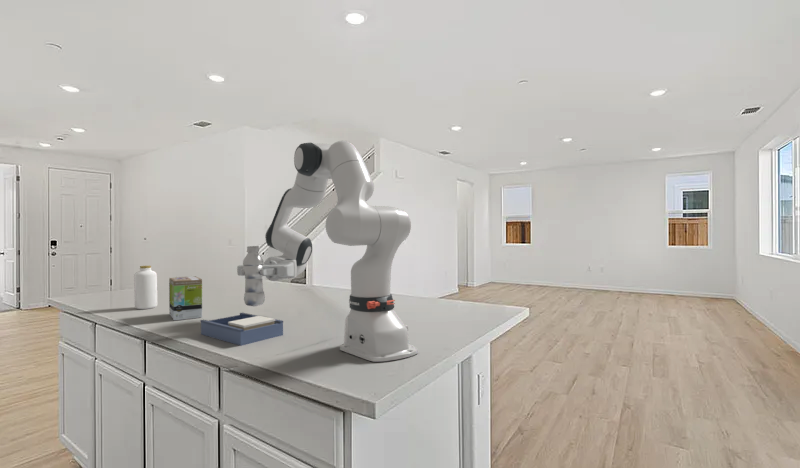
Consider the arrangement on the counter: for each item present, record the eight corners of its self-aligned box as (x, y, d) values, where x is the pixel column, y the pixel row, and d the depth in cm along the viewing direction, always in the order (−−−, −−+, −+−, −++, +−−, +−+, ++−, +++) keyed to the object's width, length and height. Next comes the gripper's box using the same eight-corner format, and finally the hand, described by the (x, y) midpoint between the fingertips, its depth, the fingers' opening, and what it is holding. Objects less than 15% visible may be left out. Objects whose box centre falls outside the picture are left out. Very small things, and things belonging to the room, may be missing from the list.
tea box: (203, 317, 157) (202, 278, 156) (173, 321, 151) (172, 280, 151) (197, 311, 169) (196, 275, 169) (168, 314, 163) (168, 277, 163)
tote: (283, 337, 126) (283, 320, 126) (240, 348, 115) (240, 330, 115) (242, 327, 139) (242, 312, 139) (200, 336, 128) (200, 320, 128)
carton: (275, 335, 125) (275, 319, 125) (244, 343, 117) (243, 325, 117) (259, 331, 130) (259, 315, 130) (228, 338, 122) (227, 321, 122)
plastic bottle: (264, 307, 137) (262, 246, 137) (242, 308, 135) (240, 247, 135) (266, 303, 143) (264, 245, 143) (245, 304, 142) (243, 246, 141)
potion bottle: (152, 305, 184) (151, 264, 184) (161, 307, 179) (160, 265, 179) (131, 308, 177) (130, 266, 177) (140, 310, 172) (139, 267, 172)
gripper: (251, 259, 155) (225, 262, 141) (300, 259, 149) (278, 263, 135) (251, 276, 155) (226, 281, 141) (300, 277, 149) (278, 282, 135)
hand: (251, 272), depth 138 cm, fingers closed on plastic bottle, 6 cm apart
